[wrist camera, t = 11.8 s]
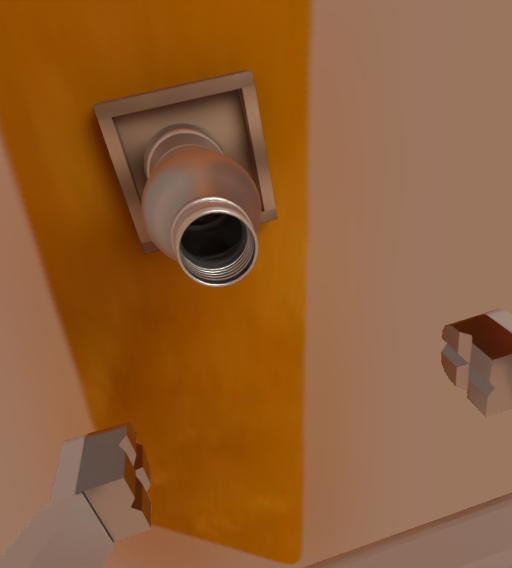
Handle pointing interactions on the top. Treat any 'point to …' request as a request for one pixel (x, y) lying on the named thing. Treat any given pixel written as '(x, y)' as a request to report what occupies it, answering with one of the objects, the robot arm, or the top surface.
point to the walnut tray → (193, 110)
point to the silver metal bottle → (200, 206)
